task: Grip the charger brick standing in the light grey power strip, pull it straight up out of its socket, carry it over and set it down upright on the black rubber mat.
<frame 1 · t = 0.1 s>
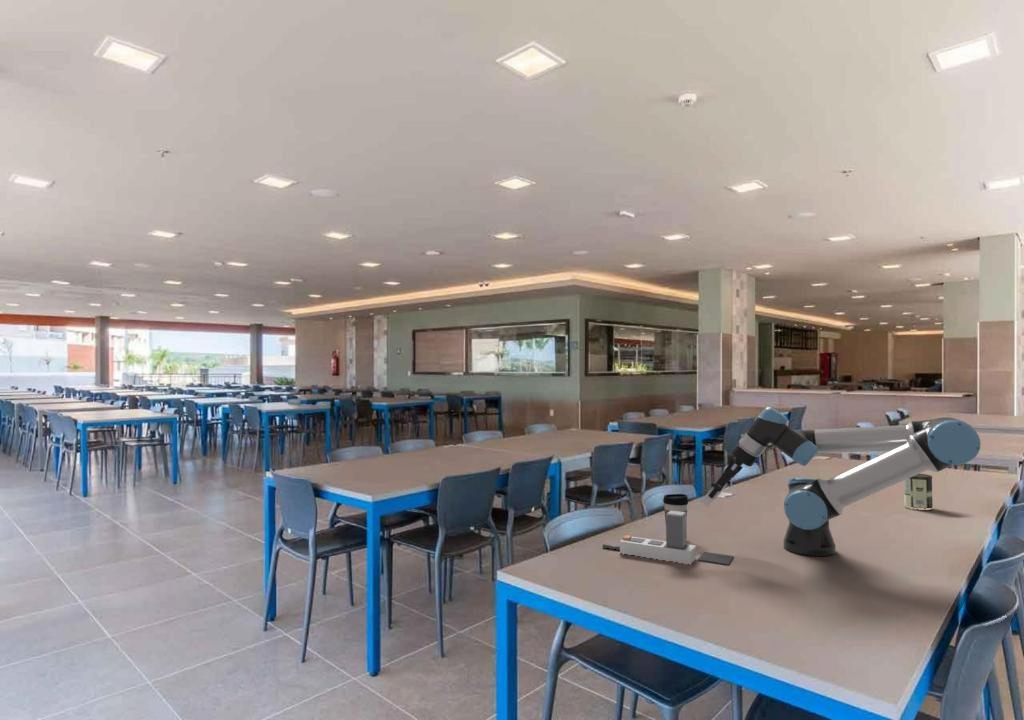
hand: (708, 500, 194), 15 cm above the table, tool tilted 35°, fingers open, 13 cm apart
coffee can: (918, 508, 250), on the table
coffee cup: (675, 539, 205), on the table
charger: (676, 545, 182), point 4 cm above the table, touching power strip
power strip: (657, 556, 185), on the table
mat: (715, 559, 182), on the table
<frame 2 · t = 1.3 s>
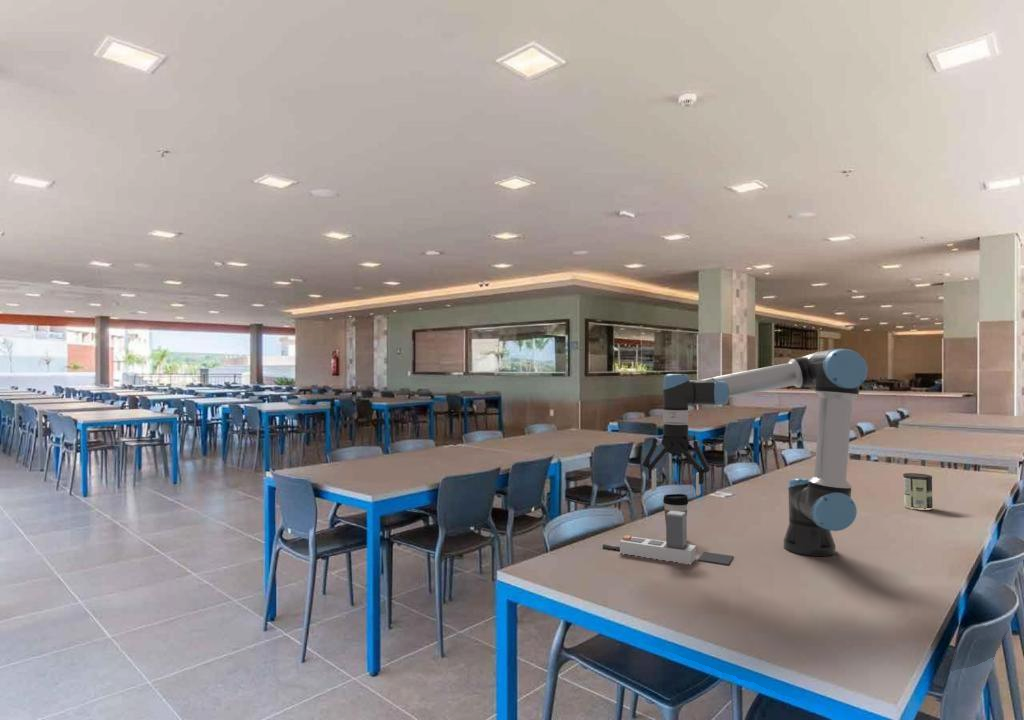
hand: (675, 492, 182), 20 cm above the table, tool pointing down, fingers open, 13 cm apart
nothing on the table moved.
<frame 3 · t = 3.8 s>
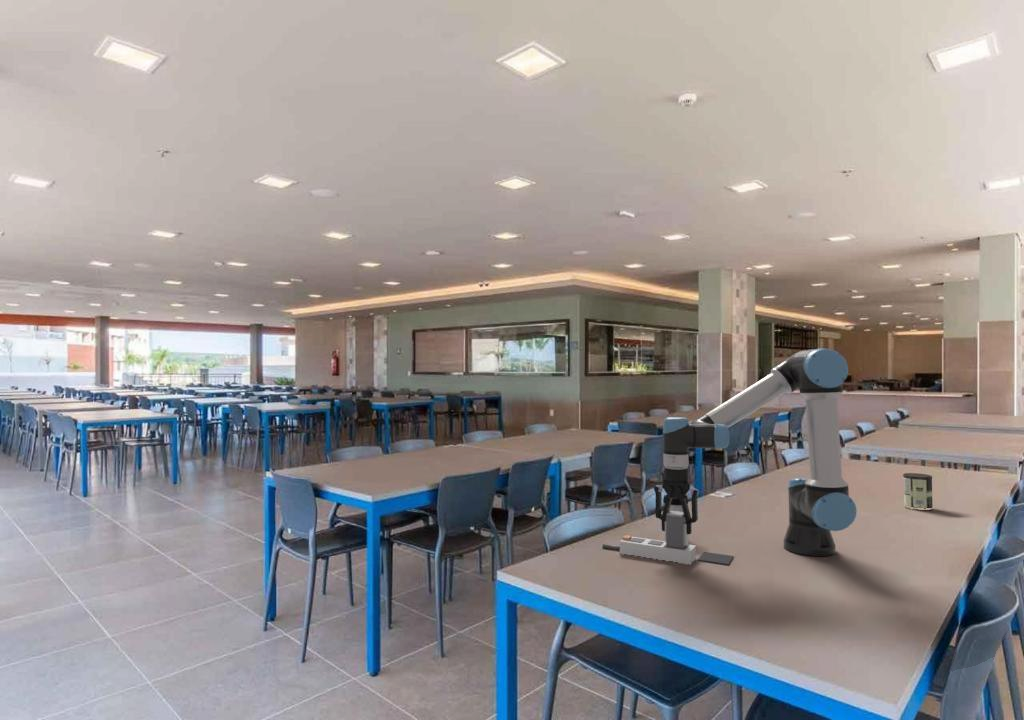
hand: (676, 542, 182), 5 cm above the table, tool pointing down, fingers closed on charger, 5 cm apart
charger: (676, 545, 182), point 4 cm above the table, touching gripper, power strip
everything else where it was.
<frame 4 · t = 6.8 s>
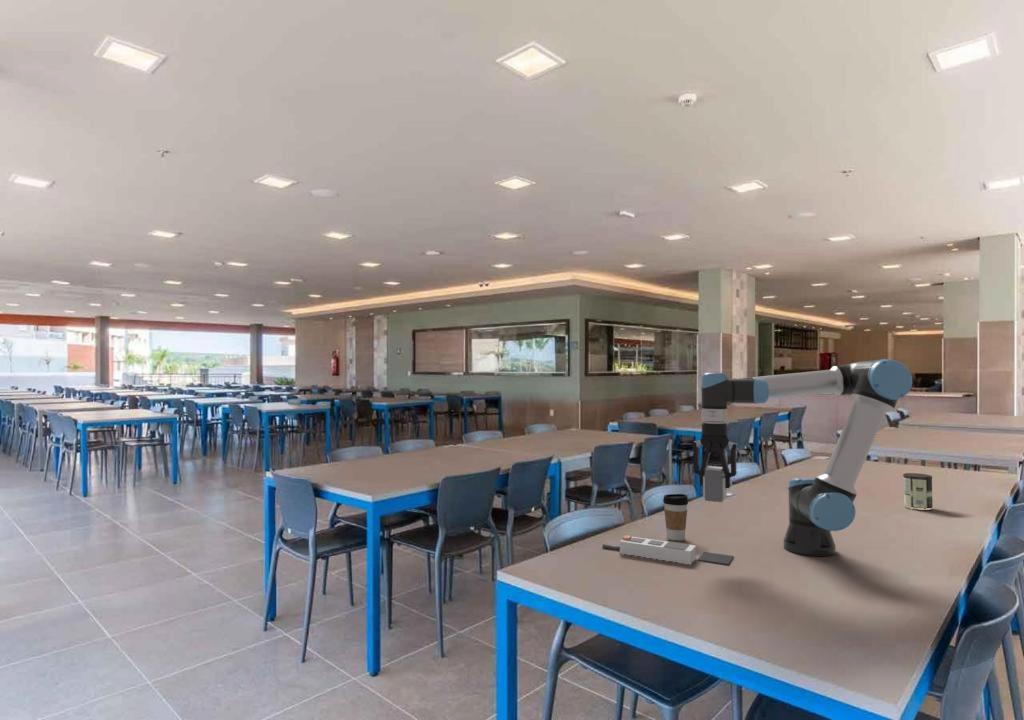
hand: (714, 497, 182), 19 cm above the table, tool pointing down, fingers closed on charger, 5 cm apart
charger: (714, 499, 182), point 18 cm above the table, touching gripper
everything else where it was.
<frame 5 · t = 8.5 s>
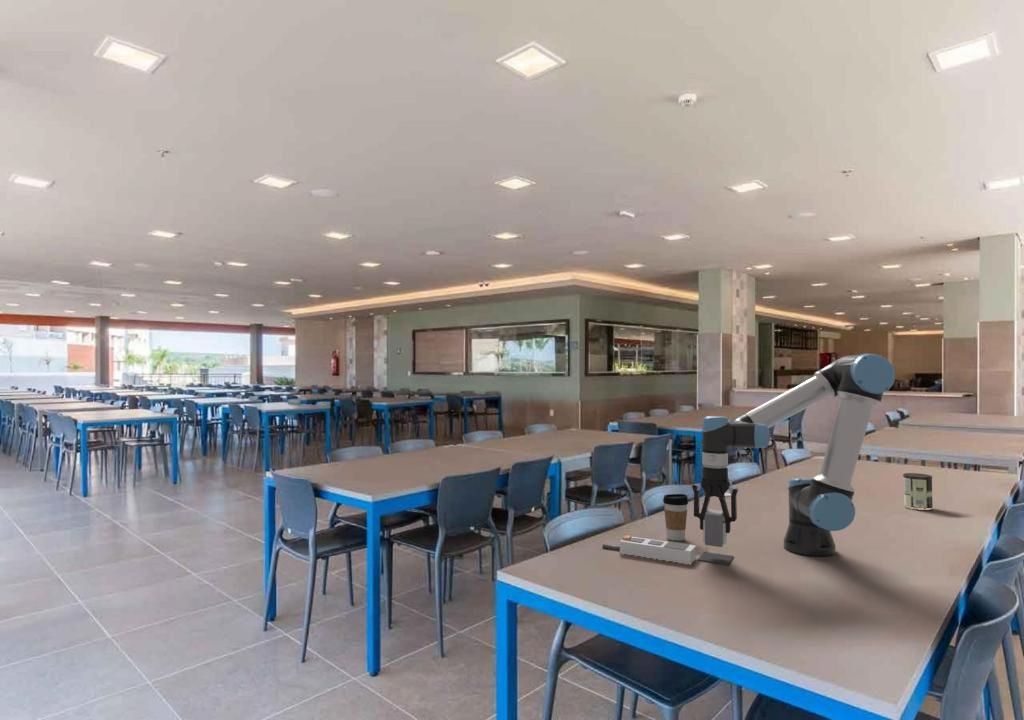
hand: (715, 541, 182), 5 cm above the table, tool pointing down, fingers closed on charger, 5 cm apart
charger: (715, 544, 182), point 5 cm above the table, touching gripper
everything else where it was.
when the fingers open (2 cm above the table, at t = 9.8 s): charger drops 1 cm, resting on mat.
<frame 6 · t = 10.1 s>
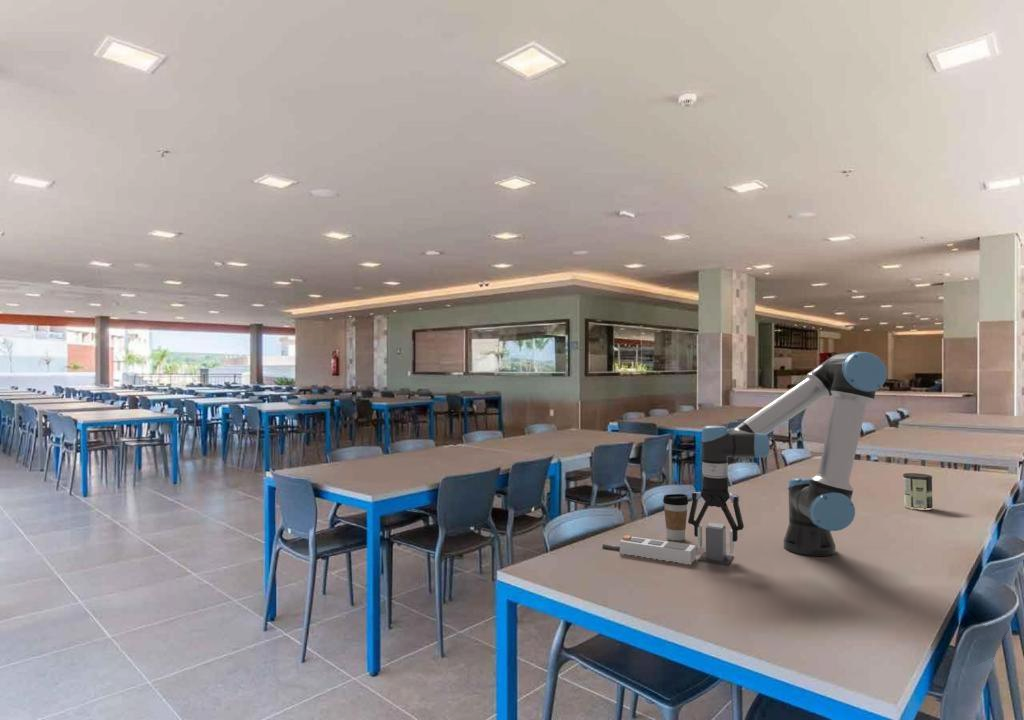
hand: (715, 549, 182), 3 cm above the table, tool pointing down, fingers open, 9 cm apart
charger: (716, 557, 182), resting on mat
everything else where it was.
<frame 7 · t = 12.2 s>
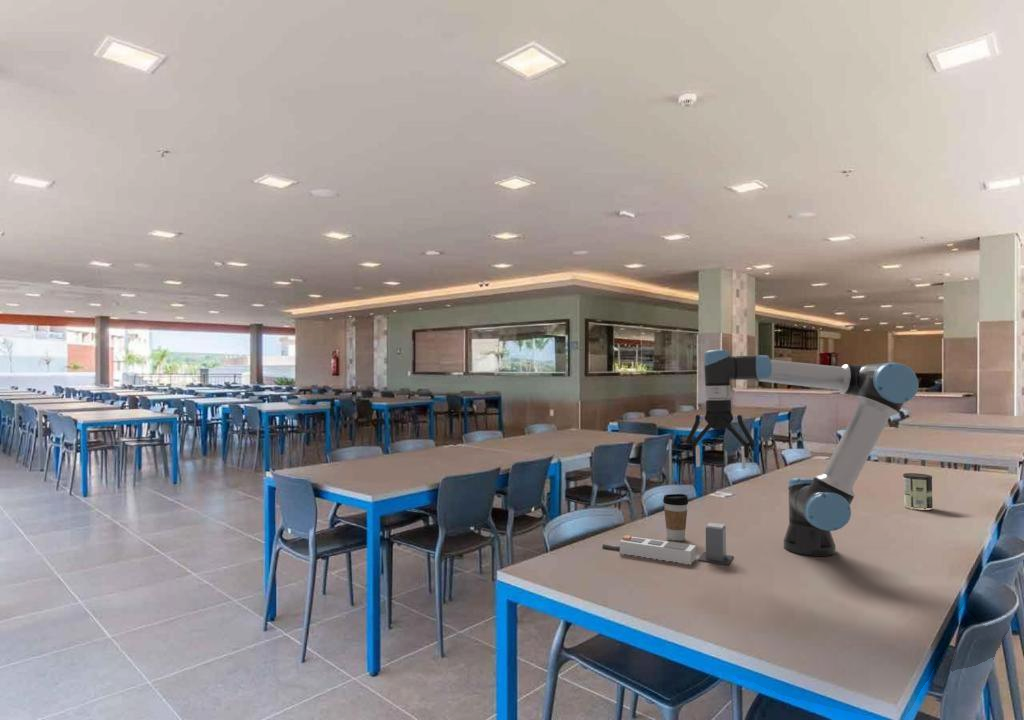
hand: (720, 467, 184), 28 cm above the table, tool pointing down, fingers open, 13 cm apart
nothing on the table moved.
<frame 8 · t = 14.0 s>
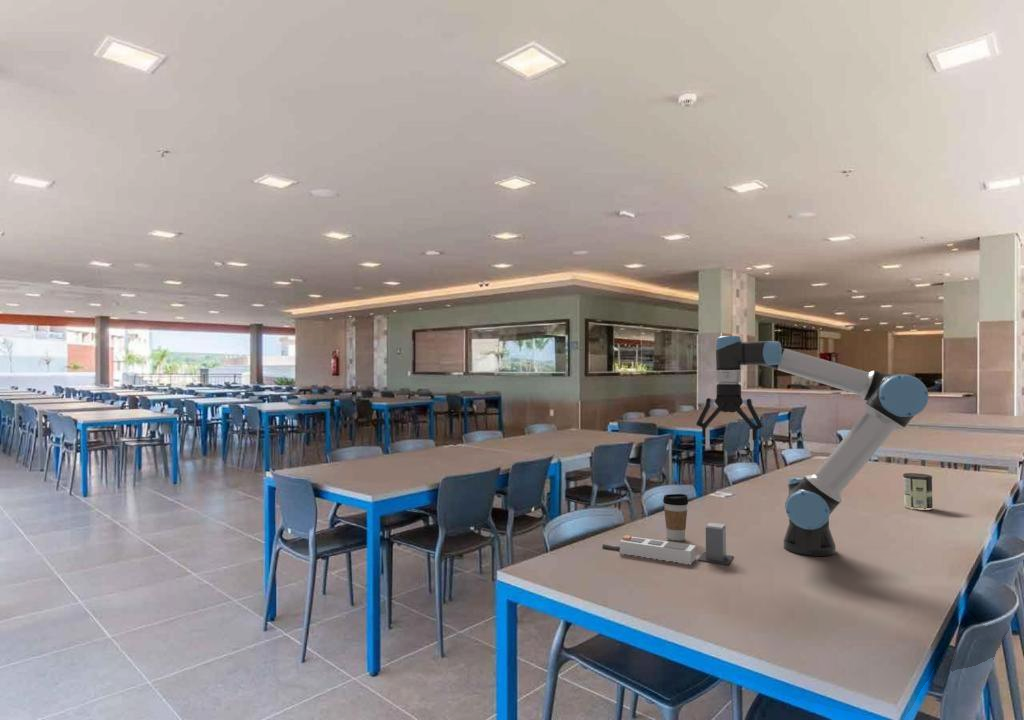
hand: (729, 449, 191), 33 cm above the table, tool pointing down, fingers open, 13 cm apart
nothing on the table moved.
at the end: charger inside the target area on the mat (0.0 cm from its centre), point 0.4 cm above the mat's base; charger tilted 0°; charger touching mat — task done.
